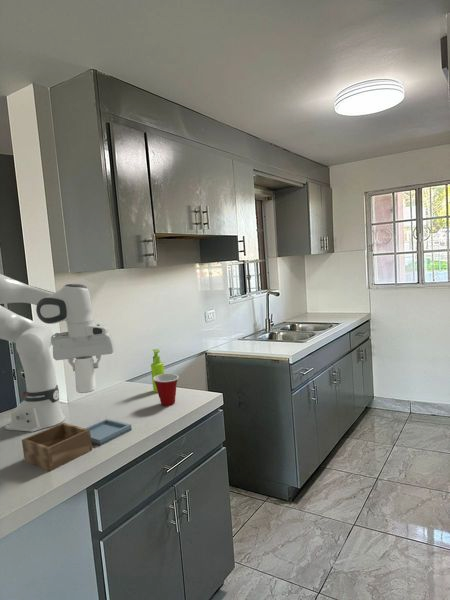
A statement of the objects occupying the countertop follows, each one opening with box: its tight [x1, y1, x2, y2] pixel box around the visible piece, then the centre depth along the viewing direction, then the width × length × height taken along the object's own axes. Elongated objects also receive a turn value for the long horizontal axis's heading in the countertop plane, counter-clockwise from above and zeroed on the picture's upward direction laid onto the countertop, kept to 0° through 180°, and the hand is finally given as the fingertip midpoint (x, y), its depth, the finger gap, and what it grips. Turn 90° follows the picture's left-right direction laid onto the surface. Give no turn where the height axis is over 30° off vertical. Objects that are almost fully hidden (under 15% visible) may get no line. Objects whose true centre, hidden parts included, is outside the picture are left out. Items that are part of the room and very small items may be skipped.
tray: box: [84, 418, 132, 446], centre depth 148 cm, size 14×14×2 cm
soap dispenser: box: [150, 348, 165, 393], centre depth 193 cm, size 6×7×20 cm
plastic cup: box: [153, 373, 180, 407], centre depth 174 cm, size 11×11×12 cm
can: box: [74, 356, 96, 394], centre depth 142 cm, size 6×6×12 cm
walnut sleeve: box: [21, 422, 93, 472], centre depth 133 cm, size 15×15×7 cm
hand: (86, 369), depth 142 cm, fingers closed on can, 6 cm apart
